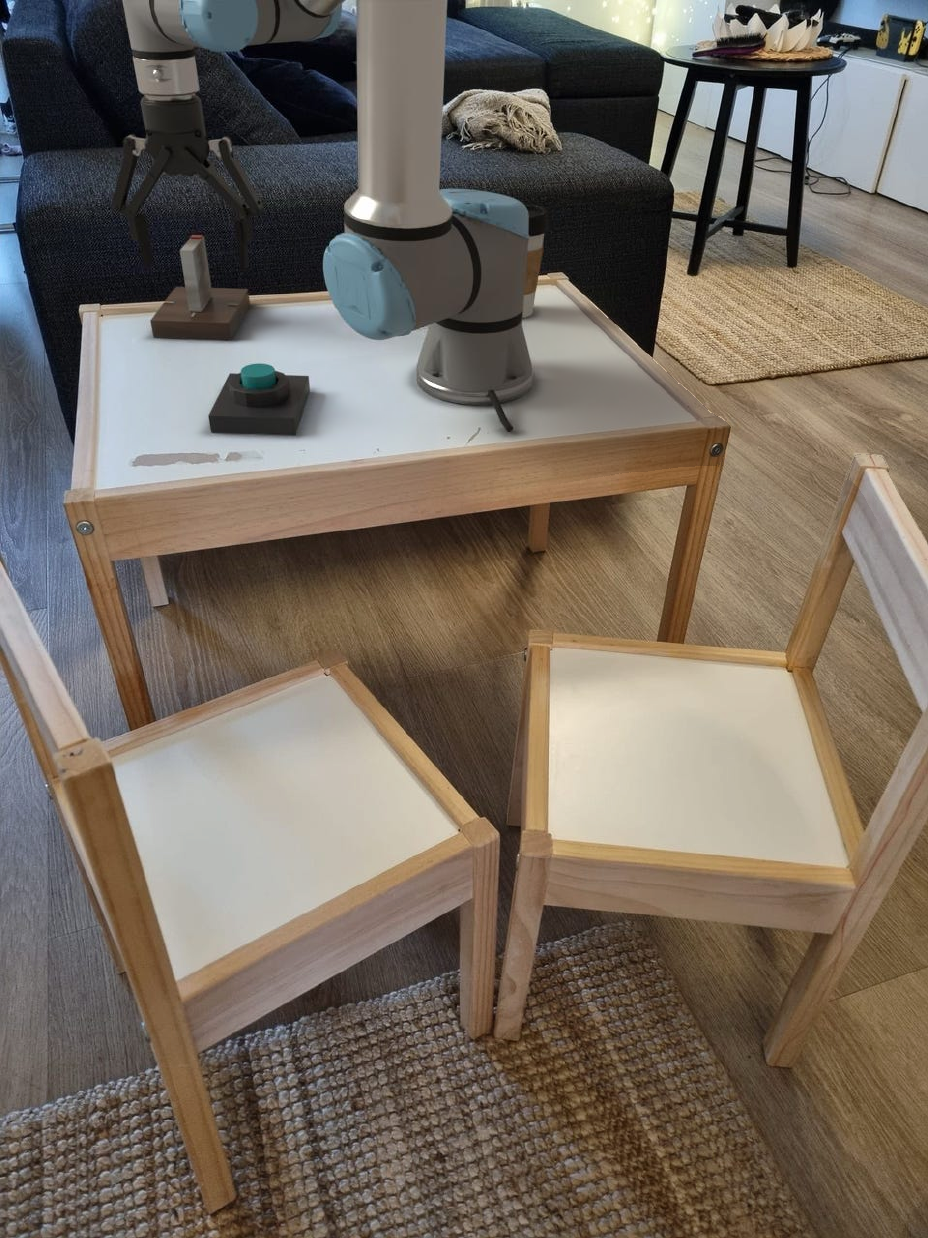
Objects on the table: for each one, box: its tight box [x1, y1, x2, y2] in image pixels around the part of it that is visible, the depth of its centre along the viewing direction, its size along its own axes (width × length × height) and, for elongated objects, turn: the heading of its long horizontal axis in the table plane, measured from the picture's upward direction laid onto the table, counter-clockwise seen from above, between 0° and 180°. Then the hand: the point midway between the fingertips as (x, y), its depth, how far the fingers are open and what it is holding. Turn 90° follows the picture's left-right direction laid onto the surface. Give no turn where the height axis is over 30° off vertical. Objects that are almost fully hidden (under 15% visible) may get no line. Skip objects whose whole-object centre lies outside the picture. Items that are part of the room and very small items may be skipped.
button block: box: [208, 370, 311, 436], centre depth 112 cm, size 12×10×4 cm
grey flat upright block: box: [179, 234, 212, 312], centre depth 131 cm, size 6×2×9 cm, turn 179°
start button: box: [240, 362, 276, 389], centre depth 110 cm, size 4×4×2 cm
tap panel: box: [149, 286, 251, 341], centre depth 135 cm, size 14×11×3 cm
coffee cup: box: [522, 204, 549, 319], centre depth 138 cm, size 8×8×15 cm
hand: (196, 265), depth 130 cm, fingers open, 13 cm apart
